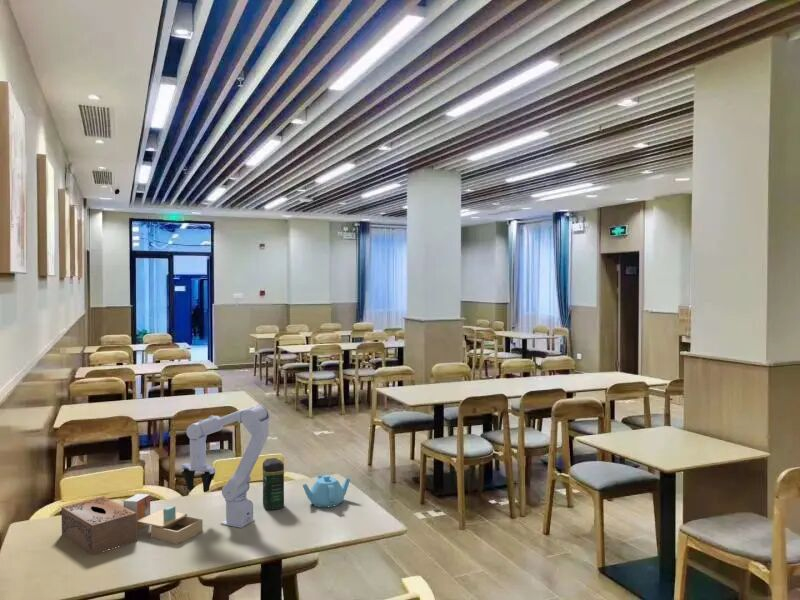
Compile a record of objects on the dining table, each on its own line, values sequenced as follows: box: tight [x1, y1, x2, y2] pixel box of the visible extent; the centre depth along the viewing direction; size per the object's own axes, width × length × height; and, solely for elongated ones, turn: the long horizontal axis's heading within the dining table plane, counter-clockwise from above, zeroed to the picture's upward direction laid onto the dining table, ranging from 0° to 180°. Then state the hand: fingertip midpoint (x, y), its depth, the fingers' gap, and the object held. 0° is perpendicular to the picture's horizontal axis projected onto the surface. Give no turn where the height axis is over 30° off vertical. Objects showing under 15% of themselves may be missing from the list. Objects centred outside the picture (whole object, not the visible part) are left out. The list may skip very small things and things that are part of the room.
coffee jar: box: [262, 457, 285, 510], centre depth 237 cm, size 10×8×19 cm
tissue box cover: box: [61, 496, 138, 556], centre depth 207 cm, size 26×14×10 cm, turn 50°
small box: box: [123, 493, 151, 531], centre depth 217 cm, size 8×6×10 cm
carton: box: [150, 515, 204, 545], centre depth 210 cm, size 12×12×4 cm
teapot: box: [302, 474, 351, 508], centre depth 241 cm, size 15×15×11 cm
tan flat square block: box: [137, 505, 188, 528], centre depth 212 cm, size 12×12×5 cm
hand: (198, 490), depth 225 cm, fingers open, 7 cm apart
